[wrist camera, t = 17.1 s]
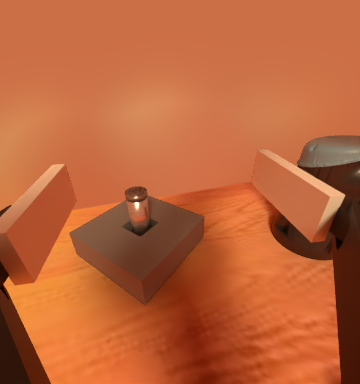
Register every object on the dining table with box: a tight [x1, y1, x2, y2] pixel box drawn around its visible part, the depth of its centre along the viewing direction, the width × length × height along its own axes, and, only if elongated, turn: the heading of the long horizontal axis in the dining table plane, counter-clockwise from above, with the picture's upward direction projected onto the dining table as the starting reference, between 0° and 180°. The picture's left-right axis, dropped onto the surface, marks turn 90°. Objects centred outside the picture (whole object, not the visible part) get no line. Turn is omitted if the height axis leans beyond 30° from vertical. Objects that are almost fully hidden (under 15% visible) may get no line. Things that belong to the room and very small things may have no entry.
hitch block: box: [70, 195, 204, 305], centre depth 45 cm, size 20×20×6 cm
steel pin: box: [125, 187, 150, 237], centre depth 43 cm, size 4×4×14 cm
